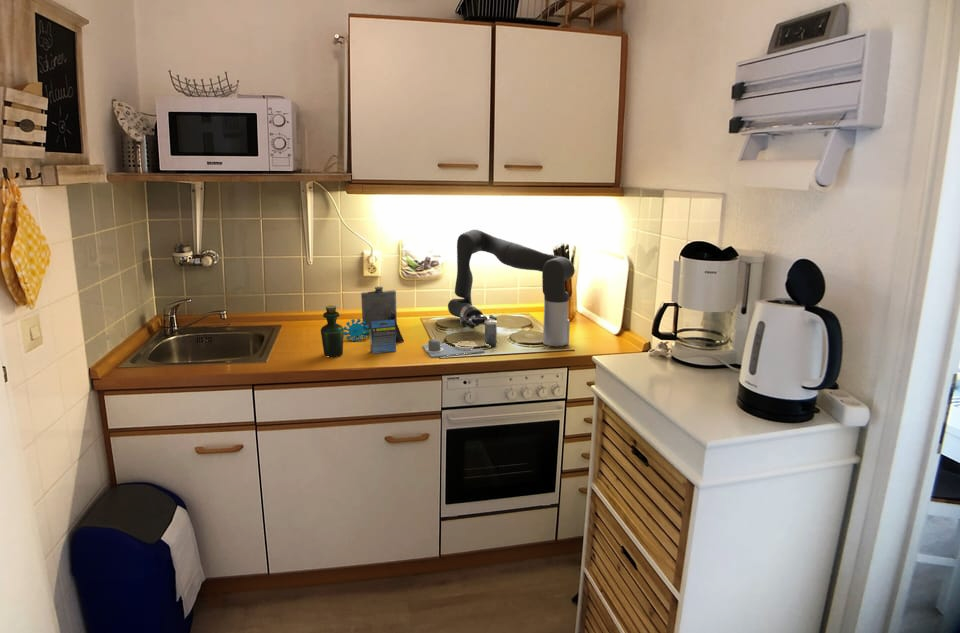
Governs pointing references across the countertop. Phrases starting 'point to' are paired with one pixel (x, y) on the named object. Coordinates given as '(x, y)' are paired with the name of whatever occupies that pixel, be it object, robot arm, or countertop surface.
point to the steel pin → (491, 332)
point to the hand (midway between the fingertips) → (484, 325)
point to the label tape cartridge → (382, 336)
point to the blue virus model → (356, 330)
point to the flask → (377, 305)
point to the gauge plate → (447, 349)
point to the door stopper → (397, 331)
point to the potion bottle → (332, 333)
